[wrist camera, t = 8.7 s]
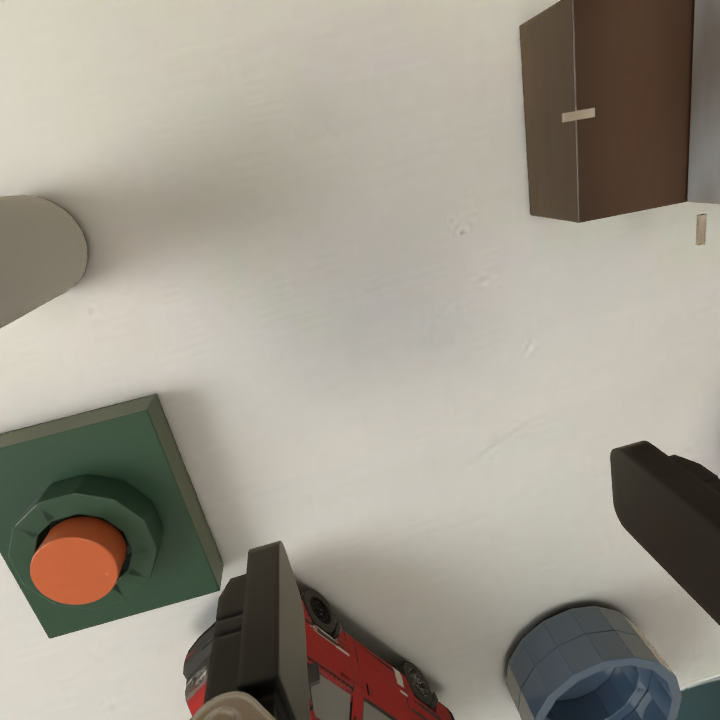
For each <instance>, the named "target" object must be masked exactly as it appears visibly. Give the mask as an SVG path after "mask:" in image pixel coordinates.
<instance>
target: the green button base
mask: <svg viewBox="0 0 720 720" xmlns="http://www.w3.org/2000/svg"><path fill="white" fill-rule="evenodd" d="M79 516H88V517H95V518H99V519H102V520H104V521H106V522H108V523H110V524H112V525H113V526H114V527H116V528H117V529H118V530H119V531H120V533H121V534H122V536H123V537H124V539H125V542H126V546H127V555H126V559H125V562H124V564H123V567H122V569H121V572H120V574H119V577H118V579H117V582H116V584H115V586H114V587H113V588H112V590H111V591H110V592H109V593H108V594H106V595H105V596H104V597H102V598H101V599H99V600H97V601H94V602H91V603H87V604H81V605H71V604H64V603H60V602H57V601H54V600H52V599H50V598H48V597H46V596H45V595H44V594H42V593H41V592H40V591H39V590H38V589H37V588H36V586H35V585H34V583H33V581H32V579H31V575H30V564H31V560H32V558H33V556H34V554H35V553H36V551H37V550H38V548H39V546H40V545H41V543H42V542H43V540H44V539H45V537H46V536H47V534H48V532H49V531H50V530H51V529H52V528H53V527H54V526H55V525H57V524H58V523H60V522H62V521H64V520H66V519H69V518H73V517H79ZM0 553H1V555H2V557H3V558H4V560H5V562H6V564H7V565H8V567H9V569H10V571H11V572H12V574H13V576H14V578H15V579H16V581H17V583H18V585H19V586H20V588H21V590H22V592H23V593H24V595H25V597H26V599H27V600H28V602H29V604H30V606H31V607H32V609H33V611H34V613H35V614H36V616H37V618H38V620H39V621H40V623H41V625H42V627H43V628H44V630H45V632H46V634H47V635H48V637H49V638H54V637H57V636H61V635H64V634H68V633H71V632H75V631H79V630H82V629H86V628H89V627H93V626H96V625H100V624H103V623H107V622H110V621H114V620H117V619H121V618H124V617H128V616H132V615H135V614H139V613H142V612H146V611H149V610H153V609H156V608H160V607H163V606H167V605H170V604H174V603H178V602H181V601H185V600H188V599H192V598H195V597H199V596H202V595H206V594H209V593H213V592H216V591H219V590H220V585H221V578H222V571H223V563H222V561H221V558H220V556H219V553H218V550H217V548H216V545H215V543H214V540H213V538H212V535H211V533H210V530H209V527H208V525H207V522H206V520H205V517H204V515H203V512H202V510H201V507H200V505H199V502H198V499H197V497H196V494H195V492H194V489H193V487H192V484H191V482H190V479H189V476H188V474H187V471H186V469H185V466H184V464H183V461H182V459H181V456H180V453H179V451H178V448H177V446H176V443H175V441H174V438H173V436H172V433H171V431H170V428H169V425H168V423H167V420H166V418H165V415H164V413H163V410H162V408H161V405H160V402H159V400H158V397H157V395H156V394H154V395H151V396H147V397H143V398H139V399H135V400H131V401H127V402H124V403H120V404H116V405H112V406H108V407H104V408H100V409H97V410H93V411H89V412H85V413H81V414H77V415H74V416H70V417H66V418H62V419H58V420H54V421H50V422H47V423H43V424H39V425H35V426H31V427H27V428H23V429H20V430H16V431H12V432H8V433H4V434H0Z"/></svg>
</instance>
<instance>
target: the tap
mask: <svg viewBox="0 0 720 720" xmlns="http://www.w3.org/2000/svg"><path fill="white" fill-rule="evenodd" d="M687 201H688V202H697V203H712V204H720V0H695V7H694V34H693V61H692V88H691V115H690V142H689V169H688V196H687Z"/></svg>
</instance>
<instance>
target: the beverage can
mask: <svg viewBox="0 0 720 720" xmlns="http://www.w3.org/2000/svg"><path fill="white" fill-rule="evenodd" d="M86 264H87V245H86V242H85V238H84V235H83V233H82V231H81V230H80V228H79V226H78V224H77V223H76V221H75V220H74V219H73V218H72V217H71V216H70V215H69V214H68V213H67V212H66V211H65V210H63V209H62V208H60V207H59V206H57V205H56V204H54V203H53V202H50V201H48V200H45V199H42V198H40V197H35V196H27V195H17V196H5V197H0V328H2V327H4V326H6V325H7V324H9V323H11V322H13V321H15V320H16V319H18V318H20V317H22V316H23V315H25V314H27V313H29V312H31V311H32V310H34V309H36V308H38V307H39V306H41V305H43V304H45V303H47V302H48V301H50V300H52V299H54V298H56V297H57V296H59V295H61V294H63V293H65V292H66V291H68V290H69V289H70V288H72V287H73V286H74V285H76V284H77V283H78V281H79V280H80V278H81V277H82V275H83V274H84V271H85V267H86Z"/></svg>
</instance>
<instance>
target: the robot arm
mask: <svg viewBox="0 0 720 720" xmlns="http://www.w3.org/2000/svg"><path fill="white" fill-rule="evenodd" d="M610 462H611V476H612V491H613V503H614V508H615V511H616V514H617V516H618V519H619V520H620V522H621V524H622V525H623V527H624V528H625V529H626V530H627V531H628V532H629V533H630V534H631V535H632V537H633V538H634V539H635V540H636V541H637V542H638V543H639V544H640V545H641V546H642V547H643V548H644V549H645V550H646V551H647V552H648V553H649V554H650V555H651V556H652V557H653V558H654V559H655V560H656V561H657V562H658V563H659V564H660V565H661V566H662V567H663V568H664V569H665V570H666V571H667V572H668V573H669V574H670V575H671V576H672V577H673V578H674V579H675V580H676V581H677V583H678V584H679V585H680V586H681V587H682V588H683V589H684V590H685V591H686V592H687V593H688V594H689V595H690V596H691V597H692V598H693V599H694V600H695V601H696V602H697V603H698V604H699V605H700V606H701V607H702V608H703V609H704V610H705V611H706V612H707V613H708V614H709V615H710V616H711V617H712V618H713V619H714V620H715V621H716V622H717V623H718V624H719V625H720V479H719V478H718V476H717V475H715V474H714V473H712V472H711V471H709V470H708V469H706V468H705V467H703V466H702V465H701V464H699V463H696V462H693V461H691V460H688V459H685V458H682V457H679V456H677V455H672V456H667V455H666V454H665V453H663V452H662V451H660V450H659V449H658V448H656V447H655V446H654V445H652V444H651V443H649V442H647V441H640V442H637V443H633V444H629V445H626V446H622V447H619V448H615V449H613V450H612V451H611V455H610ZM216 620H217V622H215V628H214V639H213V642H212V649H211V656H210V663H209V669H208V676H207V683H206V690H205V697H204V703H203V706H202V707H200V708H199V709H198V710H197V711H196V713H195V714H194V715H193V716H192V718H191V719H190V720H310V706H309V688H308V670H307V651H306V633H305V618H304V610H303V605H302V600H301V596H300V593H299V590H298V587H297V584H296V581H295V578H294V575H293V572H292V569H291V566H290V563H289V560H288V557H287V554H286V551H285V548H284V545H283V543H282V542H281V541H278V542H274V543H271V544H267V545H264V546H260V547H256V548H253V549H250V550H249V552H248V562H247V573H246V574H245V575H242V576H238V577H235V578H231V579H230V580H229V582H228V584H227V585H226V587H225V589H224V591H223V592H222V594H221V596H220V597H219V601H218V608H217V615H216Z"/></svg>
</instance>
